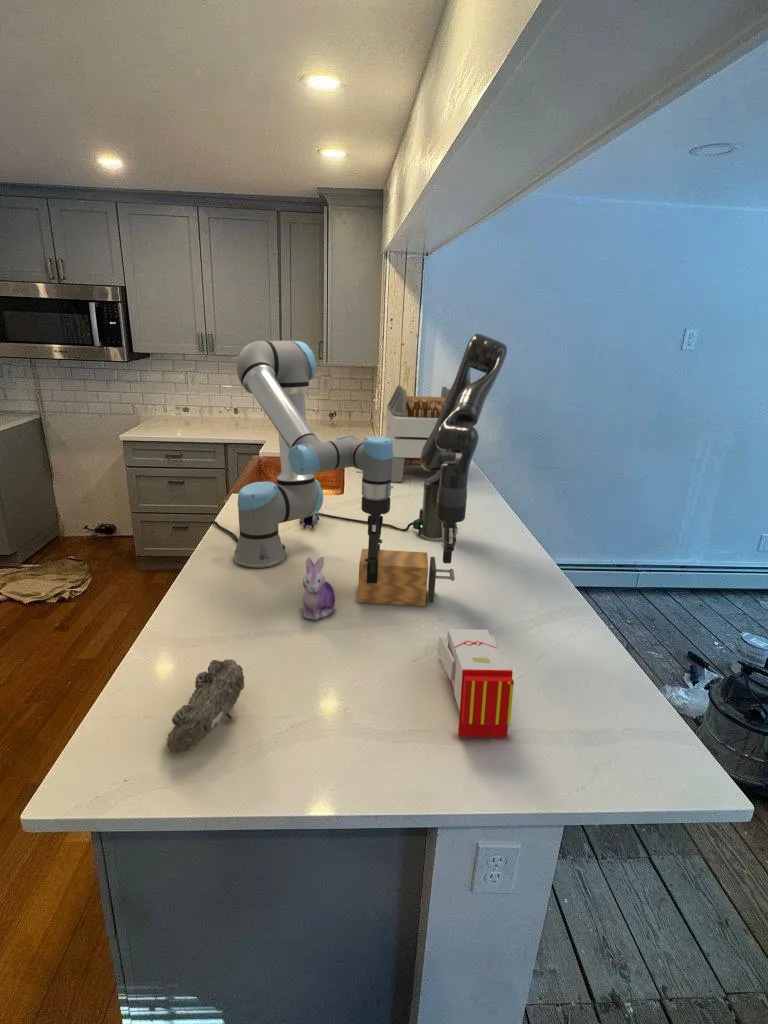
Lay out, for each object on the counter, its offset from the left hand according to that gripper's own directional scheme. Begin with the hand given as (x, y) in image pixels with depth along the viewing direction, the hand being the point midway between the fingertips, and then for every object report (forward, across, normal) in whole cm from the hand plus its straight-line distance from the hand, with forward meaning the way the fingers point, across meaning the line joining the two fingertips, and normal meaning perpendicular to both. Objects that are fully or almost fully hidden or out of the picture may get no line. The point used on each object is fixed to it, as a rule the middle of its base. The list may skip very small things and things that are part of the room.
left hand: (373, 573), depth 155 cm
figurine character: (+6, +50, +26) cm, 57 cm away
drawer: (+5, 0, -11) cm, 12 cm away
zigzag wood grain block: (+6, 0, -6) cm, 8 cm away
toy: (+6, -40, -23) cm, 47 cm away
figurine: (+6, -11, +13) cm, 18 cm away
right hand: (-5, 0, -20) cm, 20 cm away
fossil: (+6, -53, +28) cm, 60 cm away
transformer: (+6, +126, -16) cm, 127 cm away
